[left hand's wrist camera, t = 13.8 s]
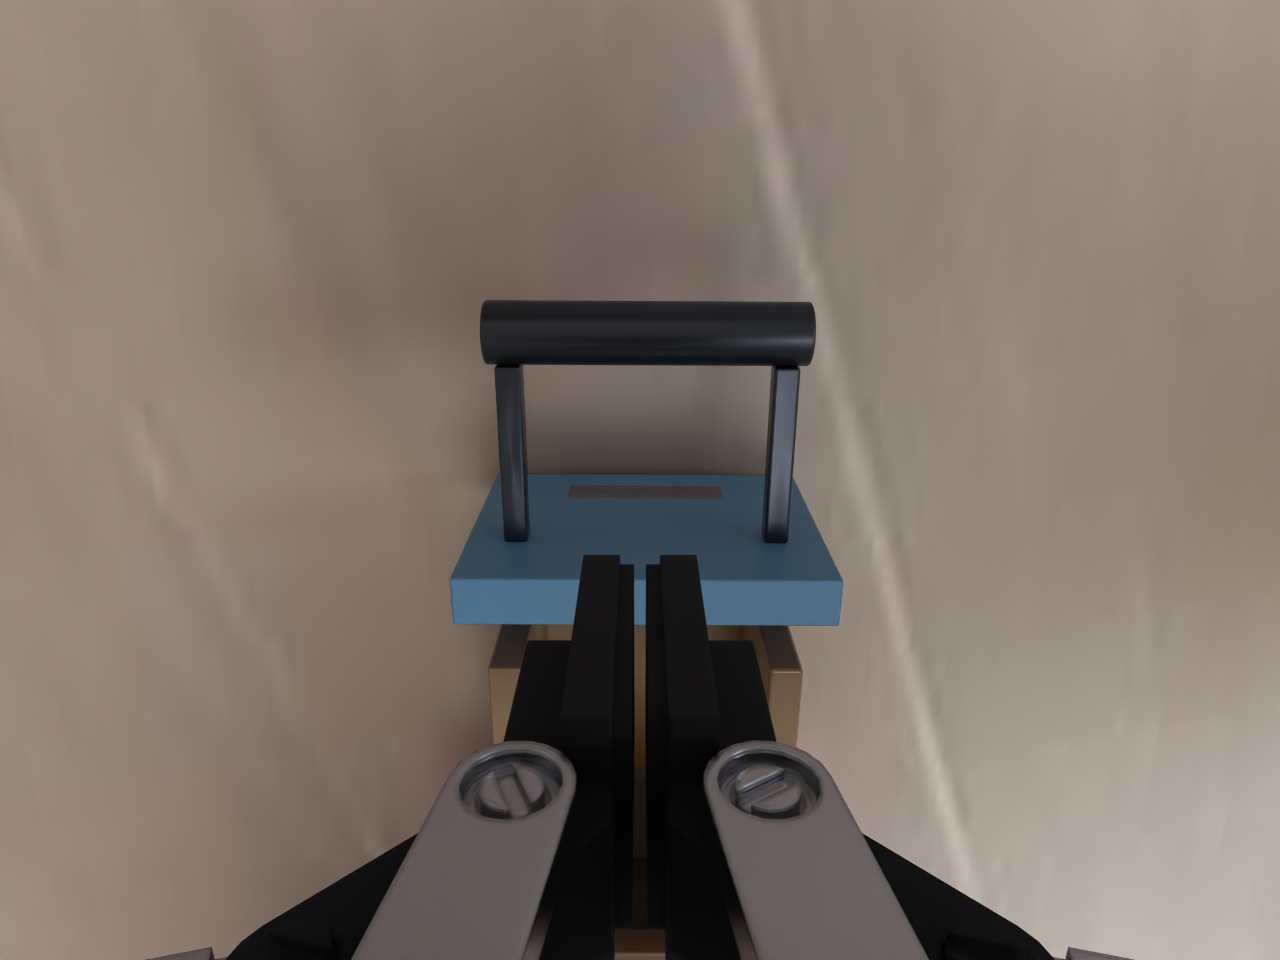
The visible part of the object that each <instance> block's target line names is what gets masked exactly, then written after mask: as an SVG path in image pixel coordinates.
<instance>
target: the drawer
mask: <svg viewBox="0 0 1280 960" xmlns="http://www.w3.org/2000/svg"><path fill="white" fill-rule="evenodd" d="M815 338H816V319H815V311H814V307H813V305H812V303H810V302H724V301H526V300H486V301H484V302H483V305H482V309H481V316H480V341H481V350H482V355H483V359H484V361H485V363H486V364H497V365H496V366H495V369H494V370H495V388H496V405H497V423H498V441H499V459H500V474H498V475H497V477H496V479H495V481H494V484H493V486H492V488H491V490H490V492H489V495H488V497H487V499H486V501H485V503H484V506H483V508H482V510H481V512H480V514H479V517H478V519H477V521H476V523H475V525H474V528H473V530H472V532H471V534H470V536H469V539H468V541H467V543H466V545H465V547H464V550H463V552H462V554H461V556H460V558H459V561H458V563H457V565H456V567H455V569H454V572H453V574H452V576H451V578H450V589H451V601H452V613H453V622H454V624H502V625H501V628H500V631H499V635H498V638H497V641H496V645H495V648H494V651H493V655H492V658H491V661H490V665H489V668H488V674H489V689H490V704H491V719H492V733H493V744H497V743H502V742H503V741H504V737H505V732H506V728H507V724H508V720H509V715H510V711H511V707H512V703H513V698H514V694H515V690H516V686H517V681H518V677H519V673H520V669H521V664H522V660H523V656H524V652H525V647H526V644H527V641H529V640H571V638H572V631H573V624H574V617H575V610H576V603H577V596H578V589H579V582H580V575H581V568H582V561H583V555H620V564H634V678H635V746H634V853H633V929H647V853H646V746H645V678H646V564H660V555H697V561H698V568H699V575H700V582H701V589H702V596H703V603H704V610H705V617H706V624H707V631H708V638H709V640H751V641H753V644H754V647H755V652H756V656H757V660H758V664H759V669H760V673H761V677H762V681H763V686H764V690H765V694H766V698H767V703H768V707H769V711H770V715H771V720H772V724H773V728H774V732H775V737H776V741H777V742H778V743H783V744H788V745H791V746H793V747H796V745H797V733H798V722H799V710H800V698H801V686H802V674H803V670H802V667H801V664H800V661H799V658H798V654H797V651H796V648H795V645H794V642H793V639H792V636H791V633H790V629H789V626H837V625H839V619H840V609H841V599H842V589H843V580H842V578H841V576H840V574H839V572H838V570H837V568H836V565H835V563H834V561H833V559H832V557H831V555H830V553H829V551H828V549H827V547H826V545H825V543H824V541H823V539H822V537H821V534H820V532H819V530H818V528H817V526H816V524H815V522H814V520H813V518H812V516H811V514H810V512H809V510H808V508H807V506H806V504H805V501H804V499H803V497H802V495H801V493H800V491H799V489H798V487H797V485H796V483H795V481H794V479H793V464H794V450H795V437H796V423H797V409H798V395H799V382H800V368H799V367H798V366H808V365H809V364H810V363H811V361H812V358H813V354H814V348H815ZM523 365H709V366H772V369H771V385H770V402H769V418H768V435H767V451H766V468H765V475H621V474H528V470H527V448H526V425H525V403H524V380H523Z"/></svg>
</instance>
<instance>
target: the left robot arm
mask: <svg viewBox="0 0 1280 960" xmlns="http://www.w3.org/2000/svg"><path fill="white" fill-rule="evenodd" d="M634 746H635V678H634V564H620V555H583V561H582V568H581V575H580V582H579V589H578V596H577V603H576V610H575V617H574V624H573V631H572V638H571V640H529V641H527V644H526V647H525V652H524V656H523V660H522V664H521V669H520V673H519V677H518V681H517V686H516V690H515V694H514V698H513V703H512V707H511V711H510V715H509V720H508V724H507V728H506V732H505V737H504V741H503V742H502V743H497V744H492V745H489V746H487V747H484V748H482V749H480V750H477V751H475V752H473V753H471V754H470V755H469V756H467V757H466V758H465V759H463V760H462V761H460V762H459V763H458V764H457V766H456V767H455V768H454V770H453V771H452V772H451V773H450V775H449V776H448V778H447V780H446V782H445V784H444V786H443V787H442V789H441V791H440V793H439V795H438V797H437V799H436V801H435V803H434V804H433V806H432V808H431V810H430V812H429V814H428V816H427V818H426V819H425V821H424V823H423V825H422V827H421V829H420V831H419V833H417V834H416V835H414V836H412V837H411V838H409V839H407V840H406V841H404V842H402V843H401V844H399V845H397V846H396V847H394V848H392V849H391V850H389V851H387V852H386V853H384V854H382V855H381V856H379V857H377V858H376V859H374V860H372V861H370V862H369V863H367V864H365V865H364V866H362V867H360V868H359V869H357V870H355V871H354V872H352V873H350V874H349V875H347V876H345V877H344V878H342V879H340V880H339V881H337V882H335V883H334V884H332V885H330V886H329V887H327V888H325V889H324V890H322V891H320V892H319V893H317V894H315V895H313V896H312V897H310V898H308V899H307V900H305V901H303V902H302V903H300V904H298V905H297V906H295V907H293V908H292V909H290V910H288V911H287V912H285V913H283V914H282V915H280V916H278V917H277V918H275V919H273V920H272V921H270V922H268V923H267V924H265V925H263V926H262V927H260V928H259V929H258V930H256V931H255V932H254V933H252V934H251V935H250V936H248V937H247V938H246V939H244V940H243V941H241V943H240V944H239V945H238V946H237V947H236V948H235V949H234V950H233V952H232V953H231V954H230V955H229V956H228V957H225V958H219V959H214V955H213V951H212V947H209V948H204V949H199V950H194V951H188V952H183V953H178V954H173V955H168V956H162V957H157V958H152V959H147V960H615V931H616V930H633V853H634ZM645 746H646V853H647V930H664V931H665V960H1133V959H1128V958H1123V957H1118V956H1112V955H1107V954H1102V953H1097V952H1092V951H1086V950H1081V949H1076V948H1071V947H1068V951H1067V955H1066V959H1061V958H1055V957H1052V956H1051V955H1050V954H1049V953H1048V952H1047V950H1046V949H1045V948H1044V947H1043V946H1042V945H1041V944H1040V943H1039V941H1037V940H1036V939H1034V938H1033V937H1032V936H1030V935H1029V934H1028V933H1026V932H1025V931H1024V930H1022V929H1021V928H1020V927H1018V926H1017V925H1015V924H1013V923H1012V922H1010V921H1008V920H1007V919H1005V918H1003V917H1002V916H1000V915H998V914H997V913H995V912H993V911H992V910H990V909H988V908H987V907H985V906H983V905H982V904H980V903H978V902H977V901H975V900H973V899H972V898H970V897H968V896H967V895H965V894H963V893H961V892H960V891H958V890H956V889H955V888H953V887H951V886H950V885H948V884H946V883H945V882H943V881H941V880H940V879H938V878H936V877H935V876H933V875H931V874H930V873H928V872H926V871H925V870H923V869H921V868H920V867H918V866H916V865H915V864H913V863H911V862H910V861H908V860H906V859H904V858H903V857H901V856H899V855H898V854H896V853H894V852H893V851H891V850H889V849H888V848H886V847H884V846H883V845H881V844H879V843H878V842H876V841H874V840H873V839H871V838H869V837H868V836H866V835H864V834H863V833H861V831H860V829H859V827H858V825H857V823H856V821H855V819H854V818H853V816H852V814H851V812H850V810H849V808H848V806H847V804H846V803H845V801H844V799H843V797H842V795H841V793H840V791H839V789H838V787H837V786H836V784H835V782H834V780H833V778H832V776H831V775H830V773H829V772H828V771H827V770H826V768H825V767H824V766H823V764H822V763H821V762H820V761H818V760H817V759H815V758H814V757H813V756H811V755H810V754H809V753H807V752H805V751H803V750H800V749H798V748H796V747H793V746H791V745H788V744H783V743H778V742H777V741H776V737H775V732H774V728H773V724H772V720H771V715H770V711H769V707H768V703H767V698H766V694H765V690H764V686H763V681H762V677H761V673H760V669H759V664H758V660H757V656H756V652H755V647H754V644H753V641H751V640H709V638H708V631H707V624H706V617H705V610H704V603H703V596H702V589H701V582H700V575H699V568H698V561H697V555H660V564H646V678H645Z"/></svg>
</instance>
